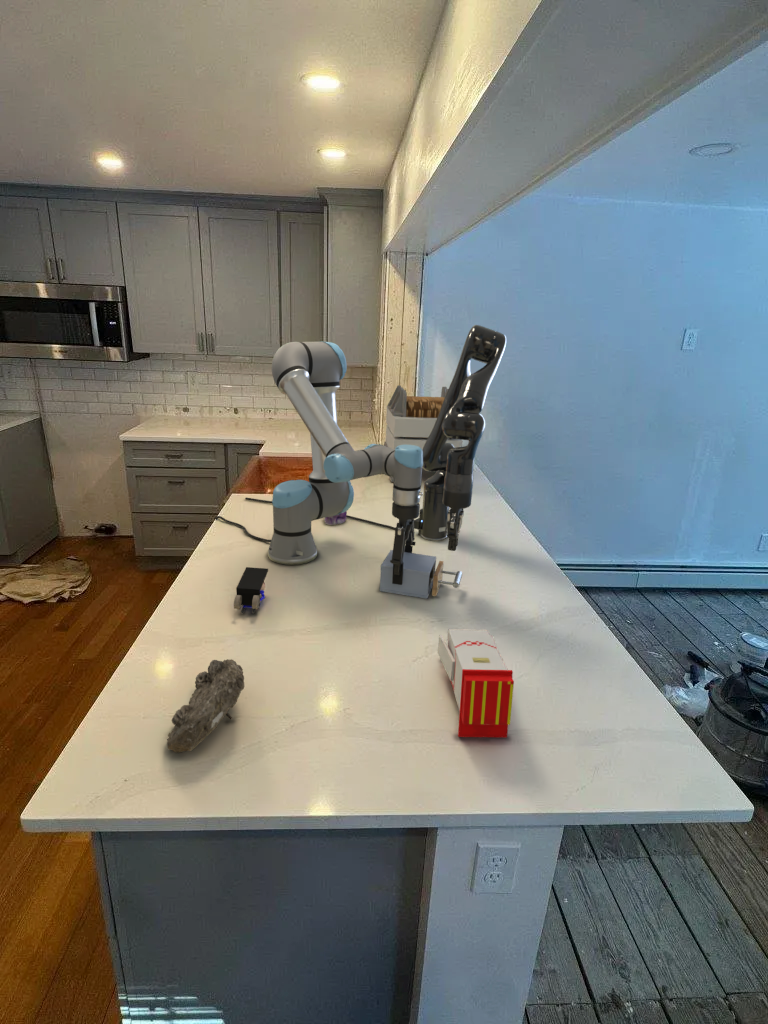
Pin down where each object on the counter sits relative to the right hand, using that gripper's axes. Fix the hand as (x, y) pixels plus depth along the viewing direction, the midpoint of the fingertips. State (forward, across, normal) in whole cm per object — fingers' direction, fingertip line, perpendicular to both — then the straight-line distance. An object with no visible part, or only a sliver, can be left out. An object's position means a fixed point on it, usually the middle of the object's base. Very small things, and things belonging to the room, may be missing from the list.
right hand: (452, 547), depth 155 cm
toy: (+14, -43, -11) cm, 46 cm away
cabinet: (+14, 0, +12) cm, 18 cm away
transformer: (+14, +118, +32) cm, 123 cm away
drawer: (+13, 0, +6) cm, 14 cm away
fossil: (+14, -66, +36) cm, 76 cm away
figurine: (+14, +41, +48) cm, 65 cm away
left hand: (+10, 0, +14) cm, 17 cm away
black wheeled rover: (+14, -24, +48) cm, 56 cm away
